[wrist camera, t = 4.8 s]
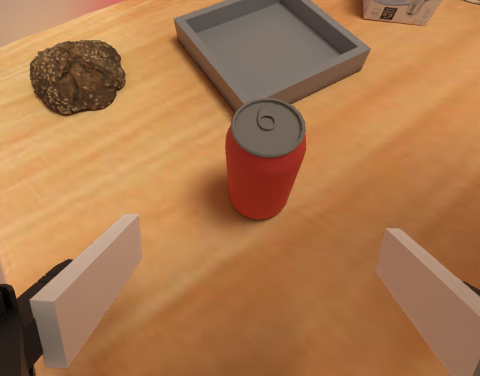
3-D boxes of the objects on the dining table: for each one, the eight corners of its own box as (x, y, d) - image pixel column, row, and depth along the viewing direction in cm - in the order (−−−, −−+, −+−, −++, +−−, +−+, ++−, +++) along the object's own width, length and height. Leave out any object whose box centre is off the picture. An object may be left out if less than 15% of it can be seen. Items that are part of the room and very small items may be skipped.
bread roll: (33, 68, 40) (8, 36, 36) (115, 45, 43) (101, 13, 38) (45, 130, 35) (17, 102, 31) (138, 100, 38) (125, 69, 33)
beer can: (281, 166, 32) (301, 88, 22) (292, 218, 29) (323, 157, 19) (226, 172, 32) (219, 95, 21) (232, 225, 29) (228, 167, 18)
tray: (360, 70, 40) (370, 48, 37) (245, 126, 35) (246, 106, 32) (281, 2, 48) (284, -20, 44) (178, 41, 43) (173, 18, 40)
